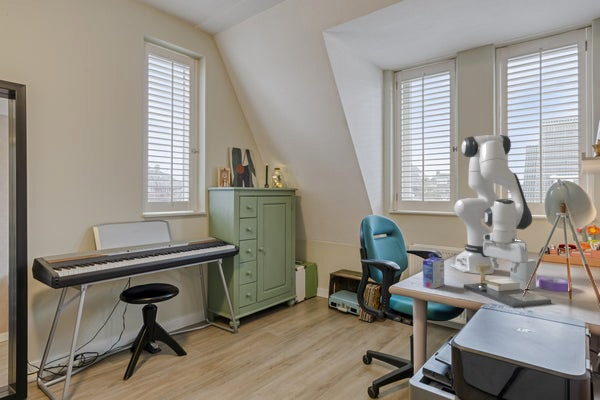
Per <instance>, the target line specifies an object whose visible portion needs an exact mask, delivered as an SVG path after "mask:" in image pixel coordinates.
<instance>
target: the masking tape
mask: <svg viewBox="0 0 600 400" xmlns="http://www.w3.org/2000/svg"><path fill="white" fill-rule="evenodd" d="M568 280H569V279H565V278H559V277H555V276H540V277H538V287H539V288H541V289H543V290H546V291H551V292H558V293H568Z"/></svg>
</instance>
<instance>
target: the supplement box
mask: <svg viewBox="0 0 600 400" xmlns="http://www.w3.org/2000/svg"><path fill="white" fill-rule="evenodd" d="M513 266H514V264H513V262H512V261H510V270H509V272H510V273H509V275H510V278H509V279H511V280H515V281H518V282H520V289H522V290H524V291H526V290H525V288H526V286H527V284H528V282H529V280H530V278H531V275H532V274H533V271H534V269H535V266H536V267H537V260H535V259H531V258H530V259H529V258H528V262H527V263H520V265H519V267H518V268H517V273H513V272H511V268H513ZM536 289H537V272H536V273H535V275H534V277H533V280H532V282H531V284H530V287H529V290H528V291H531V290H536Z"/></svg>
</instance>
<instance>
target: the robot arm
mask: <svg viewBox="0 0 600 400" xmlns="http://www.w3.org/2000/svg"><path fill="white" fill-rule="evenodd" d="M511 149H512V142H511V139H510V137H509V136H508V135H503V134H500V135H499V134H497V135H495V134H486V135H477V136H473V135H472V136H467V137H465V138H463V140H462V143H461V152H462V154H463V156H464V157H467V158H470V159H469V163H468V164H469V165H468V187H469V188H470V189H471V190H473V191H474V192H476V194H477V197H467V198H461V199H458V200H457V201H456V202H455V204H454V206H453V207H454V209H453V211H454V213H455V214H456V216H457V217H458V218H460V219H461V220H462V222H463V223H464V226H465V228H466V233H467V234H466V235H467V236H466V237H467V244H465V245H463V247H465V248H464V251H462V252H461V253H458V255H456V258H455V263H451V264H450V267H452V268H454V269H456V270H458V271H460V272H463V273H470V274H478V275H479V274H480V275H481V271H476V265H482V264H489V265H491V268H490V270H485V275H492V274H494V273H495V269H499V267H500V266H499V265H500V264H499V263H498V262H497V259H498V260H504V261H509V262H511V261H512V262H513V264H514V266H513V268H511V267H510V269H511V272H513V273H517V268H518V267H519V265H520V263H527V262H528V259H529V253H528V246H527V243H526V242H525V241H524V240H523V239H517V238H518V235H517V234H518V230H525V229H527V228H529V227H530V226H531V224H532V223H533V215H532V212H531V210H530V208H529V206H528V203H527V200H526V197H525V195H524V191H523V189H522V184H521V181H520V179H519V177H518V175H517V174H516V173H515V172H513V171H512V170H511V169H510V167H509V165H508V162H507V155H508V154H509V153H510V150H511ZM493 184H495V185H499V186H502V187H504V188H505V189H507V190H508V191H509V193H510V195H511V199H505V198H500V197H498V195H497V194H496V191H495V189H494V185H493ZM482 219H483V222H482ZM483 223H484V224H485V225H486V226H485V225H483ZM488 227H489V228H488ZM490 228H492V232H491V230H490Z"/></svg>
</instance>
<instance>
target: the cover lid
mask: <svg viewBox="0 0 600 400" xmlns="http://www.w3.org/2000/svg"><path fill="white" fill-rule="evenodd" d="M486 280H487V281H492V282H496V283H500V284H501V286H494V285H490V284H487V287H488V288H491V289H494V290H497V291H505V290H517V289H520V282H518V281H515V280H511V279H510V278H499V279H486Z"/></svg>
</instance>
